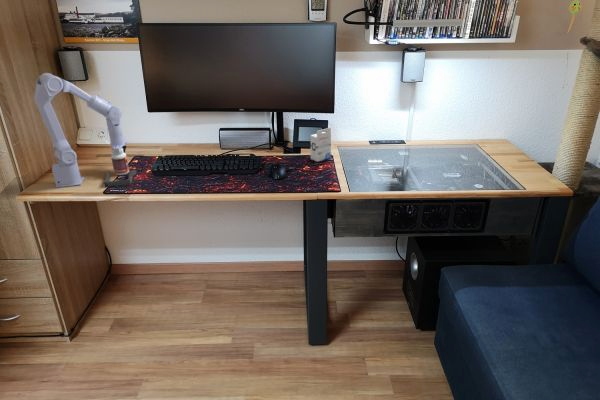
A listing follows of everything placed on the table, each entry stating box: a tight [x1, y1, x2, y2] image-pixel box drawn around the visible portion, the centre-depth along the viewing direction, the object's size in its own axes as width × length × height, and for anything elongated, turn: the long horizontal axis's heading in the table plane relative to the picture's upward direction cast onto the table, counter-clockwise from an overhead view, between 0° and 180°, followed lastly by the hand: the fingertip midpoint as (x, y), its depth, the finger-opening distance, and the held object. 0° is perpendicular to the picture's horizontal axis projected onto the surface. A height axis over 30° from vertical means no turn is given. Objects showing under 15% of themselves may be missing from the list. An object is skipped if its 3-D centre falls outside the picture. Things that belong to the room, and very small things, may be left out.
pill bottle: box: [110, 148, 130, 176], centre depth 190 cm, size 6×6×11 cm
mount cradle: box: [103, 169, 138, 188], centre depth 185 cm, size 13×12×2 cm
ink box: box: [310, 127, 332, 163], centre depth 203 cm, size 9×5×15 cm, turn 126°
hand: (122, 162), depth 195 cm, fingers closed, pressing on pill bottle
